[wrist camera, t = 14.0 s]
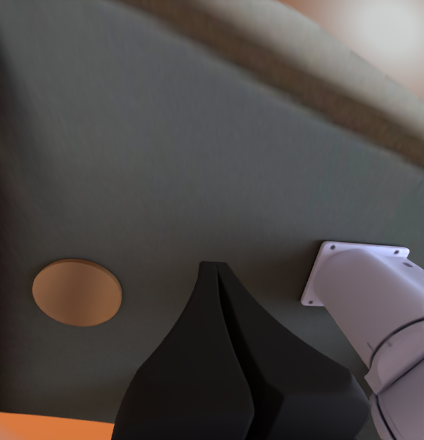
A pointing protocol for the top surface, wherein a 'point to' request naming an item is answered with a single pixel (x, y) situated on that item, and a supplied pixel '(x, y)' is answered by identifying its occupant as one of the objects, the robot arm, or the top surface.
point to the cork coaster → (77, 292)
